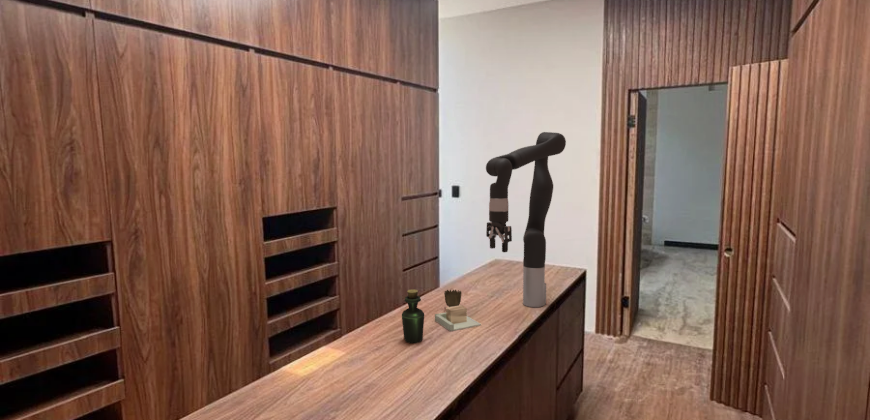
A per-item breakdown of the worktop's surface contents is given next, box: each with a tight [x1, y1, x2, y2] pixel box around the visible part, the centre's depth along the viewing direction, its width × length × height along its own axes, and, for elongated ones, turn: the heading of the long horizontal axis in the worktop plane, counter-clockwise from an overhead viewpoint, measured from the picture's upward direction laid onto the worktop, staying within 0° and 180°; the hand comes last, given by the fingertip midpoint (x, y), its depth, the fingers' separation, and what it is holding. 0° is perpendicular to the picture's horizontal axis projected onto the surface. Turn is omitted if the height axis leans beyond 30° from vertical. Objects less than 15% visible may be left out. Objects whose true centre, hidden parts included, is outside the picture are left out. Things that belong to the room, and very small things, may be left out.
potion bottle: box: [401, 289, 425, 344], centre depth 162 cm, size 8×8×18 cm
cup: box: [444, 289, 462, 307], centre depth 195 cm, size 8×7×8 cm
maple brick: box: [445, 304, 468, 324], centre depth 180 cm, size 4×7×6 cm, turn 116°
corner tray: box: [434, 311, 482, 332], centre depth 180 cm, size 14×13×2 cm
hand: (498, 250), depth 181 cm, fingers open, 8 cm apart
